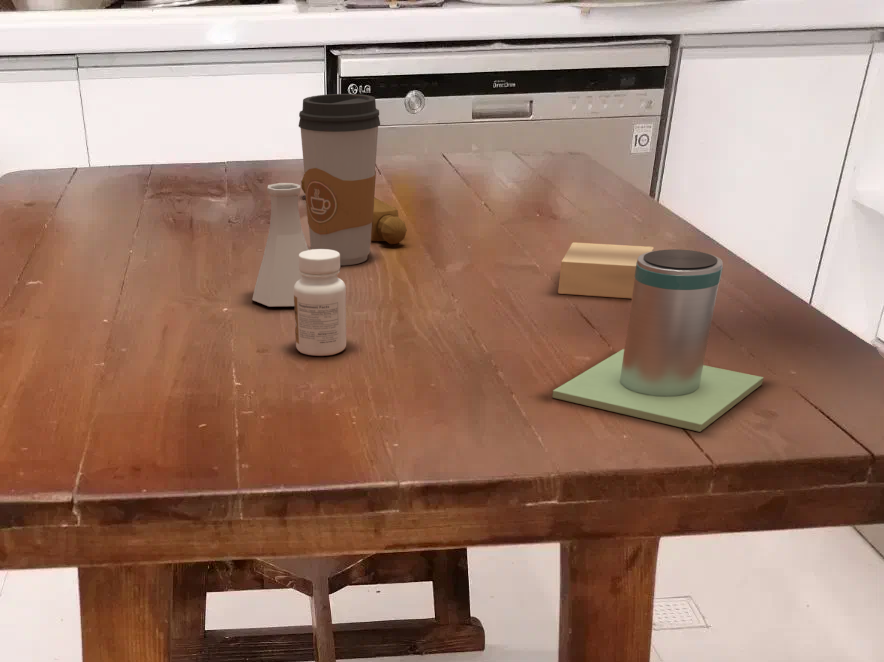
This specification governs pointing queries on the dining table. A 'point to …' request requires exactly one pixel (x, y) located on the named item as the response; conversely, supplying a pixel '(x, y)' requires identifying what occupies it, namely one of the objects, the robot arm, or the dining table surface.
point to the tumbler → (670, 321)
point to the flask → (281, 248)
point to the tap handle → (384, 222)
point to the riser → (600, 269)
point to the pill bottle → (320, 304)
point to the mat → (681, 411)
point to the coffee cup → (340, 172)
